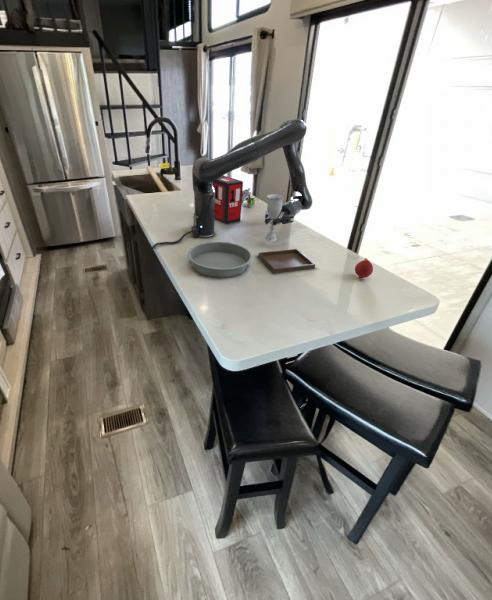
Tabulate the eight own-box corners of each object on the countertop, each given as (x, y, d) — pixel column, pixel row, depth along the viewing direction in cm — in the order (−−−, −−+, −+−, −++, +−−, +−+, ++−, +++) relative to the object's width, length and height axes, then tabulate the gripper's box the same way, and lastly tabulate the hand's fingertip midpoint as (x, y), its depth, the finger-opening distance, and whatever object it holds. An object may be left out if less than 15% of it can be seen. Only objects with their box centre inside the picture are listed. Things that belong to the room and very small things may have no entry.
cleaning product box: (208, 215, 174) (209, 177, 163) (221, 212, 178) (223, 175, 167) (226, 224, 162) (228, 183, 151) (240, 221, 166) (243, 181, 156)
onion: (369, 276, 117) (375, 256, 113) (370, 283, 113) (377, 263, 108) (352, 273, 119) (357, 253, 114) (352, 280, 114) (358, 260, 110)
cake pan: (206, 285, 110) (206, 274, 108) (178, 258, 128) (177, 247, 126) (264, 271, 120) (265, 260, 117) (230, 247, 138) (231, 237, 136)
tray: (273, 273, 118) (274, 269, 117) (258, 256, 130) (258, 252, 129) (314, 268, 122) (315, 264, 121) (295, 252, 134) (296, 248, 133)
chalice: (261, 235, 140) (265, 194, 130) (276, 235, 140) (281, 193, 130) (265, 242, 133) (269, 199, 124) (280, 241, 134) (286, 199, 124)
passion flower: (239, 214, 193) (232, 195, 193) (254, 209, 196) (248, 190, 195) (245, 208, 182) (238, 188, 182) (261, 202, 185) (254, 183, 184)
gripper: (273, 200, 143) (255, 210, 131) (303, 205, 137) (287, 216, 125) (271, 216, 147) (253, 227, 136) (300, 222, 141) (284, 234, 129)
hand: (269, 222), depth 130 cm, fingers closed on chalice, 3 cm apart
